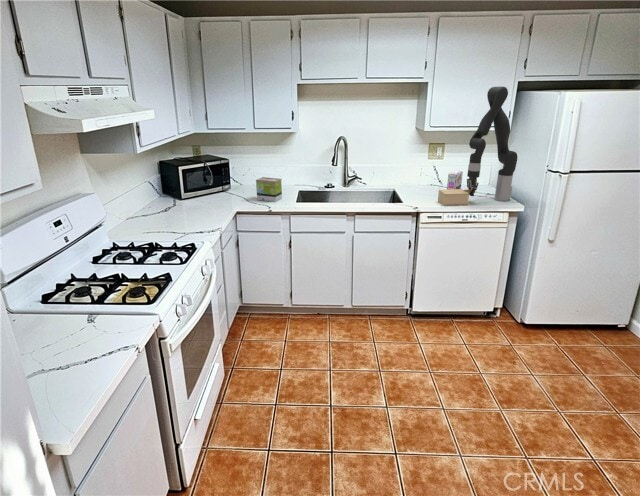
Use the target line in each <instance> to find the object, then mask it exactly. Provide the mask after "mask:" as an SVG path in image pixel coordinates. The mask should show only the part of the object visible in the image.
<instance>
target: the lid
mask: <svg viewBox="0 0 640 496" xmlns="http://www.w3.org/2000/svg"><path fill="white" fill-rule="evenodd" d="M439 192H441V193H442V194H444V195H469V193H471V189H468V188H467V189H462V188H461V189H449V190H447V189H438V193H439ZM474 194H476V190H475V191H474ZM469 196H470V195H469Z"/></svg>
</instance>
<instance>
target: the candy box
mask: <svg viewBox="0 0 640 496" xmlns="http://www.w3.org/2000/svg"><path fill="white" fill-rule="evenodd" d="M463 173H464V171H461V170H454V171H452V172H449V173H448V175H447V185H446V190H449V189H462V182H463Z"/></svg>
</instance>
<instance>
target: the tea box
mask: <svg viewBox="0 0 640 496" xmlns="http://www.w3.org/2000/svg"><path fill="white" fill-rule="evenodd" d="M255 185H256V200H257V201H265V202H272V203H277V202H278V201H280V200H282V199H283V195H282V194H283V193H282V192H283V191H282V189H283V188H282V178H278V177H277V178H275V177H268V176H267V177H265V176H262V177H260V178H258V179H255Z"/></svg>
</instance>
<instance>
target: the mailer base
mask: <svg viewBox="0 0 640 496" xmlns="http://www.w3.org/2000/svg"><path fill="white" fill-rule="evenodd" d="M469 198H470V195H444V194H442V193H441V192H439V191H438V195H437V202H438V203H439V204H441V206H443V207H454V206H455V207H457V206H458V207H459V205H462V206H468V205H469Z"/></svg>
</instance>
